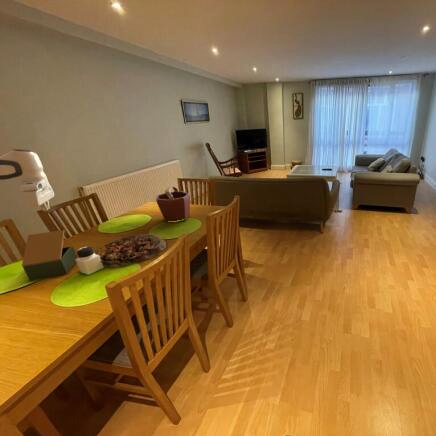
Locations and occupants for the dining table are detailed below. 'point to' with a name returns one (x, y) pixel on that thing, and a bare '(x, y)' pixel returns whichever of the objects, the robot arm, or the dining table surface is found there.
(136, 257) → the food dish
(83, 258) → the medicine bottle
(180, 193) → the bucket
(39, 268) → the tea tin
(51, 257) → the box lid
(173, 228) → the dining table surface
